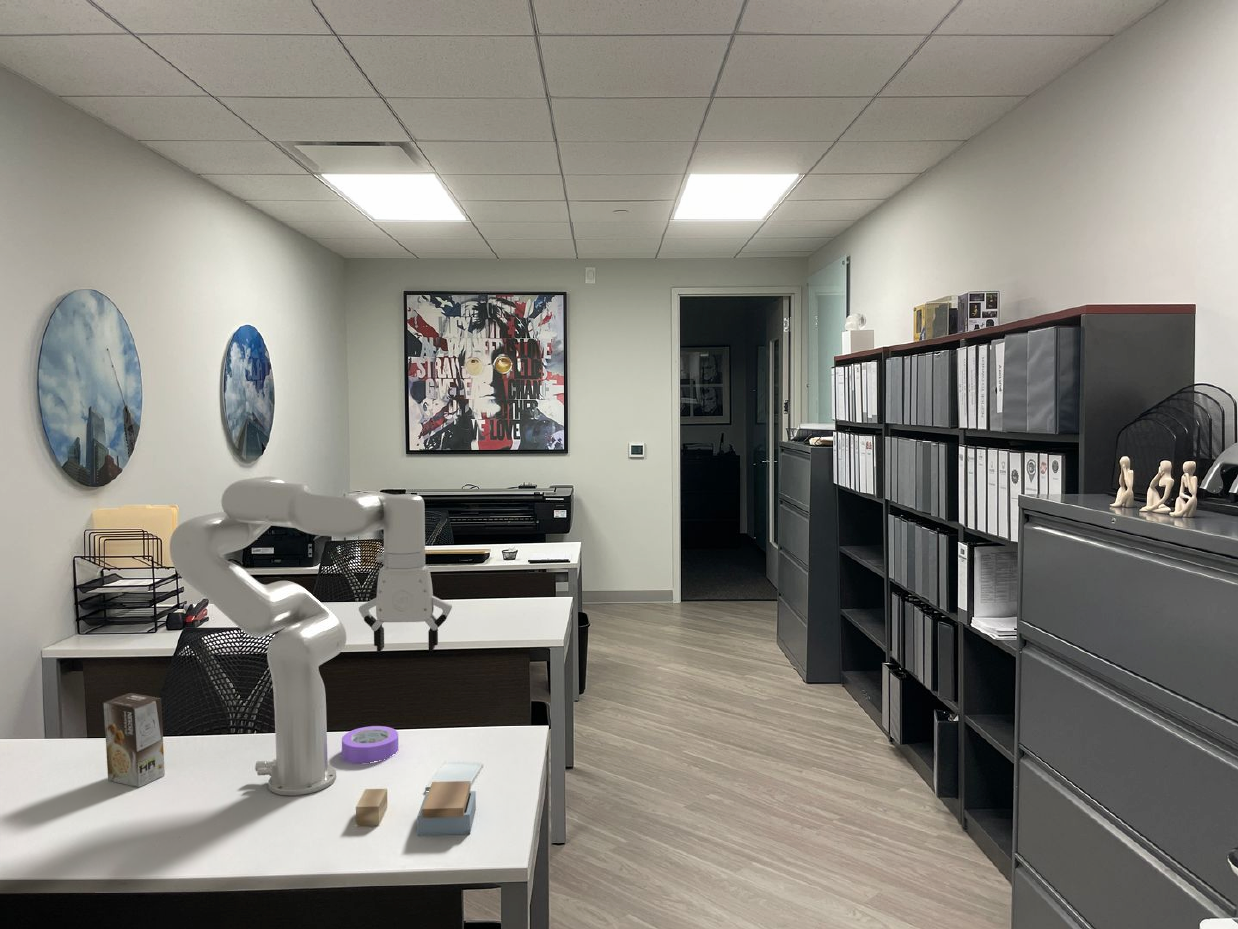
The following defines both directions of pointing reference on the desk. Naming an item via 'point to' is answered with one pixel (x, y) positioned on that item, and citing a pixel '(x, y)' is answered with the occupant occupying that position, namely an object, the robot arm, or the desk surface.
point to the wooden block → (371, 807)
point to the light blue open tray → (448, 820)
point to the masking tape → (369, 744)
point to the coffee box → (134, 739)
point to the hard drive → (457, 772)
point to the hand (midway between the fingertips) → (406, 649)
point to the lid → (446, 799)
